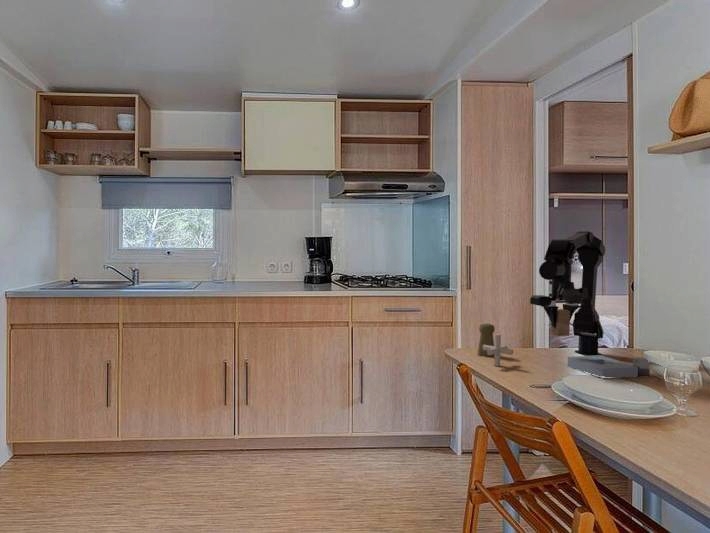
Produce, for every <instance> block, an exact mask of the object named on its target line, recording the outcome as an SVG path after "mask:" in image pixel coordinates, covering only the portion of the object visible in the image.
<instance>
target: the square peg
mask: <svg viewBox="0 0 710 533" xmlns="http://www.w3.org/2000/svg"><path fill="white" fill-rule="evenodd" d="M570 323H571V320H570V311H569V310H564V309H563V308H558V309H557V311H556V327H553V326H552V324H551V323H550V335H553V336H557V337H570V328H571V327H570V326H571V325H570Z"/></svg>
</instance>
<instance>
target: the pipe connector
mask: <svg viewBox="0 0 710 533" xmlns="http://www.w3.org/2000/svg"><path fill="white" fill-rule="evenodd" d="M501 340H502V335H501V334H500V333H496V334H494V346H489V345H483V347H482V349H483V350H486V351H487V354H488V355H493V354H494V359H493V360H494V361H493V366H495V367H500V366H501V354H504V355H508V356H509V355H510V356H513V354H514V350H513V349H512V348H509V347H508V345H506V344H504V345H501V344H502V342H501Z"/></svg>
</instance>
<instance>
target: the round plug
mask: <svg viewBox="0 0 710 533" xmlns="http://www.w3.org/2000/svg"><path fill="white" fill-rule="evenodd" d="M646 358H647V357H645V356H632V365H633V366H636V367H638V377H640V376H649V377H650V375H651V374H650V373H651V371H650V370H651V364H650V365H649V362H648V360H647V359H646Z"/></svg>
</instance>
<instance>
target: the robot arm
mask: <svg viewBox="0 0 710 533" xmlns="http://www.w3.org/2000/svg"><path fill="white" fill-rule="evenodd" d="M576 254H577V255H578V261H579V263H580V265H581V266H582V276H581V278H582V279H581V287H579V288H576V287H575V282H573V281H572V265H573V264H574V261H573V260H572V259H573V258H574V257H575V255H576ZM605 254H606V247H605V245H604V242H603V240H601V239H599V238H598V237H597V236H595V235H594V233H593V231H587V230H586V231H582V230H581V231H577V232H575V233H574V234H572V235H570V236H568V237H566V238H554V239H552V240H550V242H549V244H548V246H547V249H546V253H545V255H544V258H543V259H544V262H542V263H541V264H540V266H539V269H538V273H539V275H540V277H541V278H542V279H544V280H547V281H549V285H551V293H548V295H542V294H539V295H537V294H536V295H534V294H533V295H531V297H530V299H529V300H530V302H529V304H530V305H535V306H540V307H542V308H543V309H544V311H545V312H546V315H547V316H548V317H547V318H548V320H549V322H550V325H551V324H552V326H553V327H556V311H557V309H560V308H559V307H560V306H557V304H562V309H564V310H569V311H570V321H571V320H572V317H574V318H573V321H572V329H573V336H575V337H576V336H577V337H578V346H577V347H578V348H577V349H578V350H577V349H575V350H574V352H575V353H578V354H580V355H582V356H594V355H601V356H602V353H601V352H599V339H604V328H603V326H602V324H601V321H600V314H598V312H597V310H596V299H597V297H596V296H597V281H598V280H597V279H598V268H599V267H600V265H601V264H602V262H604V256H605Z"/></svg>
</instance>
